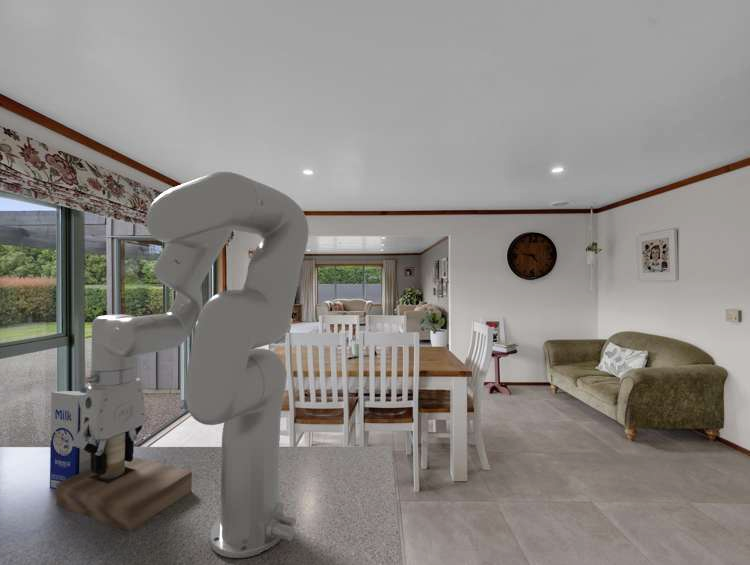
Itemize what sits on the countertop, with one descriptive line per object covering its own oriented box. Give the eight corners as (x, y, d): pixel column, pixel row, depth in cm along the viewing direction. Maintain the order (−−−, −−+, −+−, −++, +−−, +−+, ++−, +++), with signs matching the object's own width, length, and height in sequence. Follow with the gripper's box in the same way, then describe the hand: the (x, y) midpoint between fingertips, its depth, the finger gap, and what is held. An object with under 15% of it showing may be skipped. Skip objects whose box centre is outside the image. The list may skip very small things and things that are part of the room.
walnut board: (191, 491, 75) (191, 472, 75) (129, 531, 63) (130, 508, 63) (123, 471, 82) (123, 454, 82) (55, 504, 70) (56, 483, 70)
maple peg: (129, 485, 75) (130, 427, 75) (108, 496, 71) (109, 434, 71) (115, 481, 77) (116, 423, 77) (94, 491, 73) (95, 431, 73)
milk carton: (48, 488, 76) (50, 391, 75) (82, 471, 82) (83, 382, 82) (75, 493, 74) (77, 394, 74) (107, 476, 80) (109, 385, 80)
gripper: (80, 390, 65) (78, 493, 65) (165, 369, 81) (163, 451, 81) (53, 385, 67) (51, 484, 67) (140, 365, 83) (139, 445, 83)
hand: (112, 465), depth 74 cm, fingers open, 4 cm apart
